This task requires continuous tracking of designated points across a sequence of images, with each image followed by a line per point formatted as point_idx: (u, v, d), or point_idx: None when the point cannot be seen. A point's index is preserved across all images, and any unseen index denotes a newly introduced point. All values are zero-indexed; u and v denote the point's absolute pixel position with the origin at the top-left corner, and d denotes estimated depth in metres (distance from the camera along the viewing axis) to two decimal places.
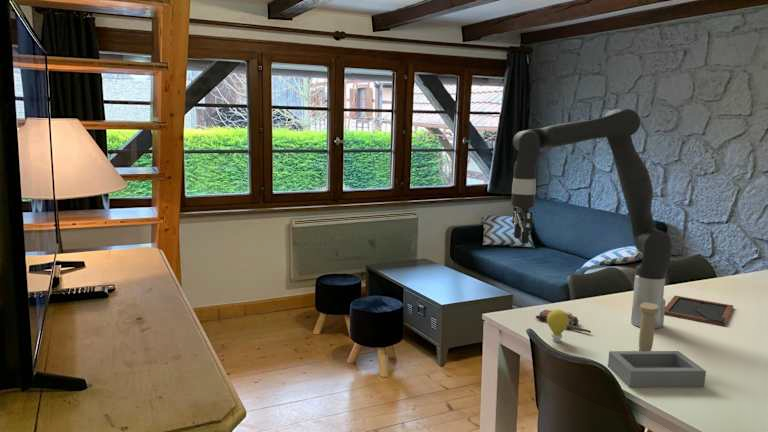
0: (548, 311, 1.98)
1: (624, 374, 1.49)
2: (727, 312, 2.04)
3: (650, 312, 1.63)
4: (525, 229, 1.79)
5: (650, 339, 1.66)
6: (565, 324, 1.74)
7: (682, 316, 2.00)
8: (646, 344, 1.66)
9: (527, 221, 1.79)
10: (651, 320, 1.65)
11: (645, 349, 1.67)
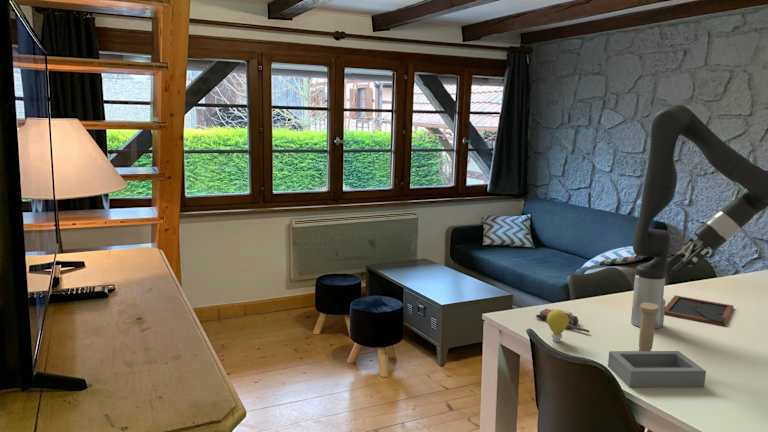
0: (549, 310, 1.98)
1: (624, 374, 1.49)
2: (727, 312, 2.04)
3: (650, 312, 1.63)
4: None
5: (650, 339, 1.66)
6: (565, 324, 1.74)
7: (682, 316, 2.00)
8: (646, 344, 1.66)
9: None
10: (651, 320, 1.65)
11: (645, 349, 1.67)
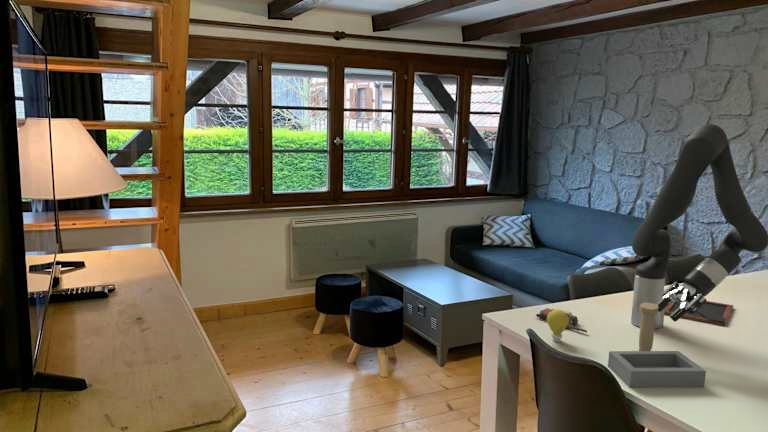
0: (549, 310, 1.99)
1: (624, 374, 1.49)
2: (727, 312, 2.04)
3: (650, 312, 1.63)
4: None
5: (650, 339, 1.66)
6: (565, 324, 1.74)
7: (682, 316, 2.00)
8: (646, 344, 1.66)
9: None
10: (651, 320, 1.65)
11: (645, 349, 1.67)
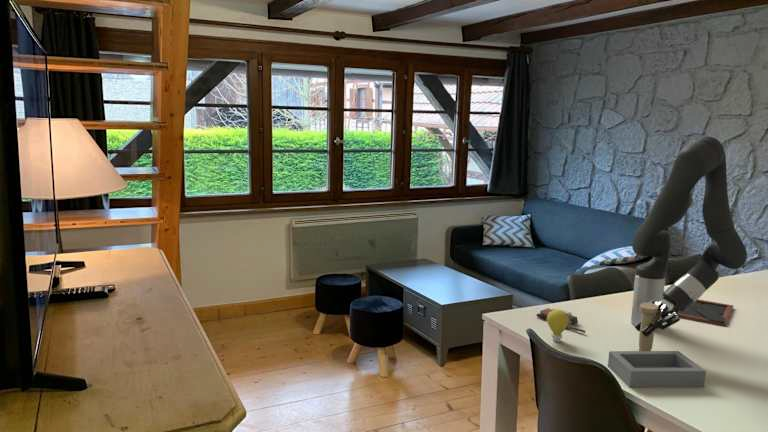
0: (549, 310, 1.99)
1: (624, 374, 1.49)
2: (727, 312, 2.04)
3: (650, 312, 1.63)
4: None
5: (650, 339, 1.66)
6: (565, 324, 1.74)
7: (682, 316, 2.00)
8: (646, 344, 1.66)
9: None
10: (651, 320, 1.65)
11: (645, 349, 1.67)
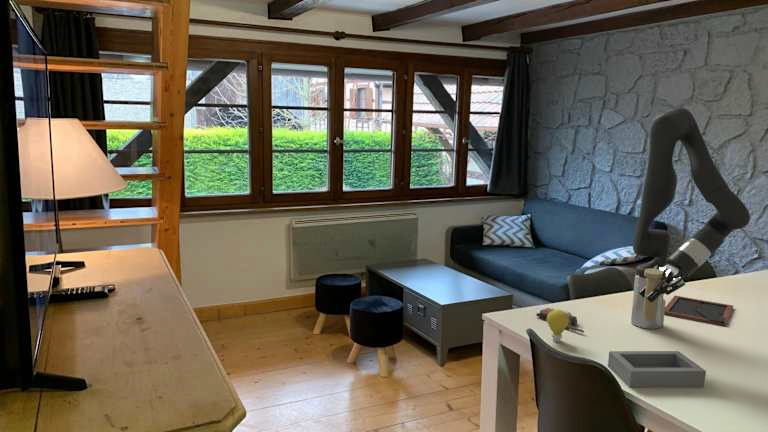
0: (549, 309, 1.99)
1: (624, 374, 1.49)
2: (727, 312, 2.04)
3: (655, 277, 1.61)
4: None
5: (655, 305, 1.64)
6: (565, 324, 1.74)
7: (682, 316, 2.00)
8: (651, 310, 1.64)
9: None
10: (656, 285, 1.63)
11: (650, 315, 1.65)
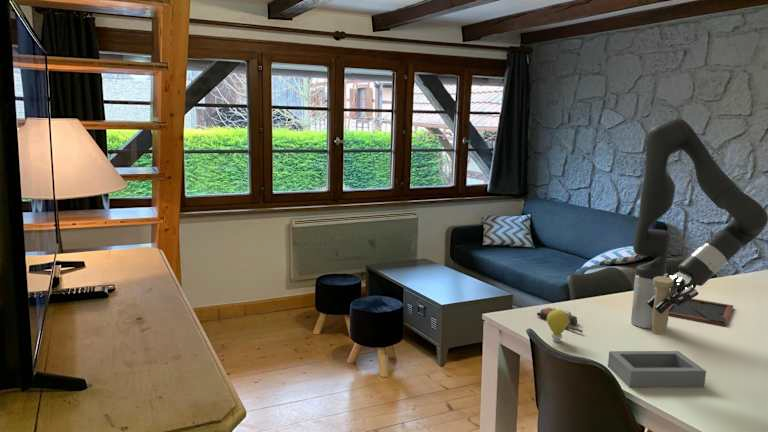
0: None
1: (624, 374, 1.49)
2: (727, 312, 2.04)
3: (665, 286, 1.46)
4: None
5: (665, 316, 1.49)
6: (565, 324, 1.74)
7: (683, 316, 2.00)
8: (660, 322, 1.49)
9: None
10: (666, 295, 1.48)
11: (659, 328, 1.50)
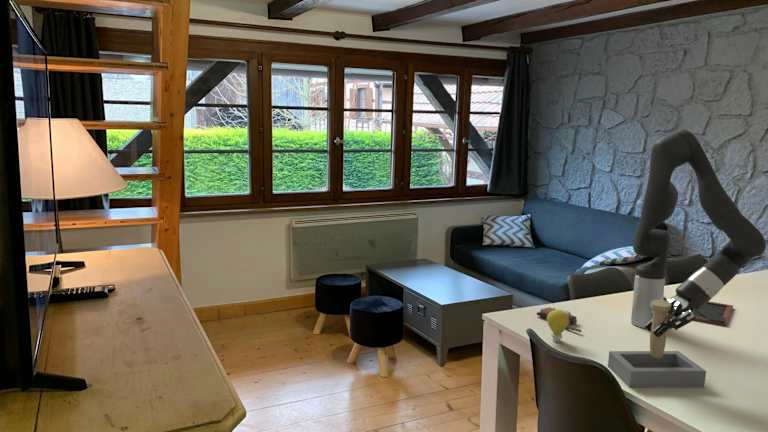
0: (550, 309, 2.00)
1: (624, 374, 1.49)
2: (727, 312, 2.04)
3: (662, 310, 1.47)
4: None
5: (662, 340, 1.50)
6: (565, 324, 1.74)
7: None
8: (658, 346, 1.50)
9: None
10: (664, 319, 1.49)
11: (657, 351, 1.51)
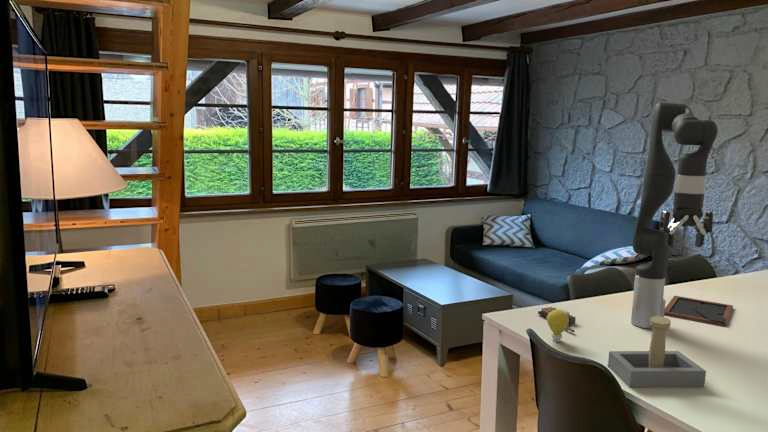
0: None
1: (624, 374, 1.49)
2: (727, 312, 2.04)
3: (661, 327, 1.48)
4: None
5: (661, 356, 1.51)
6: (565, 324, 1.74)
7: (683, 317, 2.00)
8: (657, 362, 1.51)
9: None
10: (663, 336, 1.50)
11: (656, 367, 1.52)
